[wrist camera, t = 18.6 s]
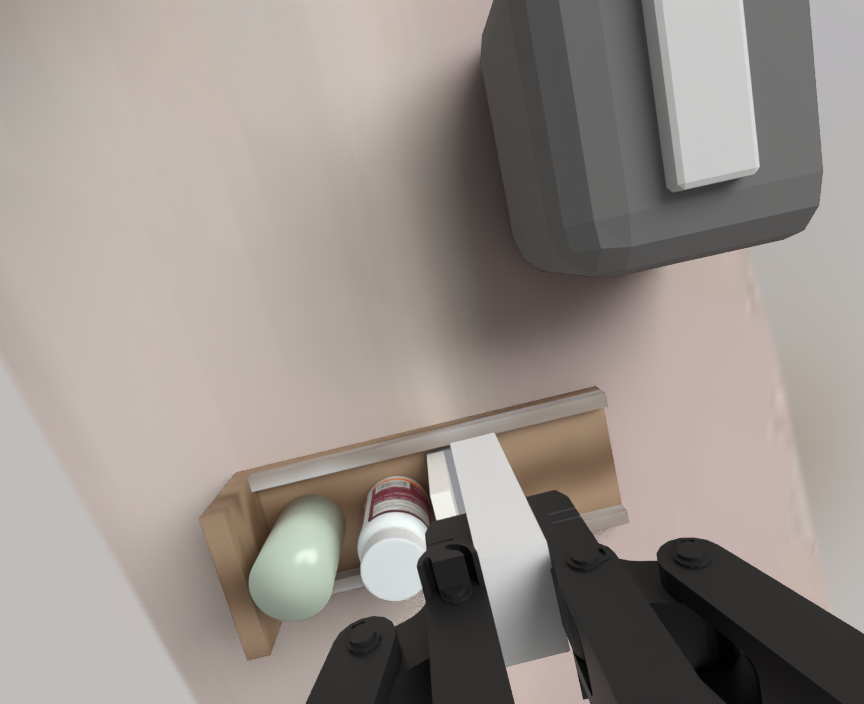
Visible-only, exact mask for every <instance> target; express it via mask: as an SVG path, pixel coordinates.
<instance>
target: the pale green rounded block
mask: <svg viewBox="0 0 864 704" xmlns="http://www.w3.org/2000/svg"><path fill="white" fill-rule="evenodd" d="M345 534H346V520H345V517H344V514H343V512H342V510H341V509H340V508H339V507H338V505H337V504H335V503H334V502H333V501H332V500H330V499H328V498H326V497H323V496H320V495H313V494H310V495H302V496H299V497H297V498H294V499H293V500H291V501H290V502H288V503H287V504H286V505H285V506H284V508H283V509H282V510H281V512H280V514H279V516H278V518H277V520H276V522H275V524H274V526H273V528H272V530H271V532H270V534H269V536H268V538H267V540H266V542H265V544H264V546H263V548H262V550H261V552H260V554H259V556H258V557H257V559H256V561H255V563H254V565H253V567H252V569H251V572H250V576H249V590H250V594H251V596H252V599H253V601H254V602H255V604H256V605H257V606H258V607H259V608H260V609H261V610H262V611H263V612H264V613H265V614H267V615H269V616H270V617H273V618H275V619H278V620H282V621H291V622H293V621H301V620H305V619H308V618H310V617H312V616H314V615H316V614H317V613H319V612H320V611H321V610H322V609H323V608H324V607H325V605H326V604H327V603H328V601H329V599H330V597H331V594H332V589H333V585H334V581H335V577H336V572H337V568H338V564H339V560H340V555H341V551H342V547H343V542H344V538H345Z"/></svg>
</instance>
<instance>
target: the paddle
mask: <svg viewBox="0 0 864 704" xmlns="http://www.w3.org/2000/svg"><path fill="white" fill-rule="evenodd" d="M426 453H427V464H428V476H429V488H430V497H431V501H432V505H433V509H434V513H435V516H436V520H440V519H444V518H448V517H452V516H456V515H461V514H465V513H466V510H465V506H464V502H463V497H462V493H461V489H460V484H459V480H458V476H457V472H456V467H455V463H454V459H453V455H452V450H451V446H450V447H446V448H442V449H438V450H434V451H429V452H426Z"/></svg>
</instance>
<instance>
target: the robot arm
mask: <svg viewBox="0 0 864 704" xmlns="http://www.w3.org/2000/svg"><path fill="white" fill-rule="evenodd" d="M450 446H451V450H452V455H453V459H454V463H455V467H456V472H457V476H458V480H459V484H460V489H461V493H462V497H463V502H464V506H465V510H466V513H465V514H461V515H456V516H452V517H448V518H444V519H440V520H436V521H432V522H431V523H430V525H429V527H428V529H427V531H426V532H425V541H426V551H425V552H424V553H423V554H422V556H421V557H420V558H419V559H418V563H417V571H418V574H419V578H420V582H421V585H422V589H423V593H424V596H425V600H426V604H425V605H424V607H423V608H422V609H421V610H420V611H419V612H418V613H417V614H416V615H415V616H413V617H411V618H410V619H408V620H407V621H405V622H403V623H401V624H399V625H397V626H395V627H394V625H393V623H392V621H390V620H388V619H386V618H384V617H376V616H372V617H368V618H363V619H360V620H358V621H356V622H354V623H352V624H350V625H349V626H348V627H346V628H345V629H344V630H343V631H342V632H340V634H339V635H338V637H337V638H336V640H335V641H334V643H333V645H332V647H331V649H330V652H329V654H328V656H327V658H326V660H325V663H324V665H323V667H322V669H321V671H320V673H319V676H318V678H317V680H316V682H315V684H314V687H313V689H312V691H311V693H310V695H309V697H308V700H307V702H306V704H515V703H514V699H513V695H512V691H511V687H510V683H509V679H508V675H507V671H506V667H508V666H512V665H516V664H520V663H524V662H528V661H532V660H536V659H540V658H544V657H548V656H552V655H556V654H560V653H564V652H568V651H570V648H569V643H568V639H569V642H570V644H571V647H572V649H573V654H574V659H575V664H576V668H577V673H578V678H579V682H580V687H581V692H582V696H583V700H584V699H589V701H590V704H864V634H863V633H861V632H860V631H858V630H857V629H855V628H853V627H852V626H850V625H849V624H847V623H845V622H844V621H842V620H840V619H839V618H837V617H835V616H834V615H832V614H831V613H829V612H827V611H826V610H824V609H822V608H821V607H819V606H817V605H816V604H814V603H813V602H811V601H809V600H808V599H806V598H804V597H803V596H801V595H799V594H798V593H796V592H795V591H793V590H791V589H790V588H788V587H786V586H785V585H783V584H781V583H780V582H778V581H776V580H775V579H773V578H772V577H770V576H768V575H767V574H765V573H763V572H762V571H760V570H758V569H757V568H755V567H754V566H752V565H750V564H749V563H747V562H745V561H744V560H742V559H740V558H739V557H737V556H736V555H734V554H732V553H731V552H729V551H727V550H726V549H724V548H722V547H721V546H719V545H717V544H715V543H713V542H710V541H708V540H704V539H699V538H678V539H675V540H671V541H668V542H667V543H665V544H664V545H662V546H661V547H660V548H659V550H658V552H657V560H658V561H628V560H623V559H619V558H618V557H617V555H616V554H615V553H614V552H613V551H612V550H611V549H610V548H609V547H607V546H604V545H602V544H599V543H598V542H597V540H596V539H595V537H594V535H593V534H592V532H591V531H590V529H589V528H588V526H587V525H586V523H585V522H584V520H583V519H582V517H581V516H580V514H579V512H578V511H577V509H575V506H574V505H573V503H572V502H571V500H570V499H569V497H568V496H566V495H564V494H562V493H561V492H559V491H557V490H552V491H548V492H544V493H540V494H536V495H532V496H528V497H525V496H524V493H523V491H522V489H521V487H520V485H519V483H518V481H517V479H516V477H515V475H514V473H513V471H512V468H511V466H510V464H509V462H508V460H507V458H506V456H505V454H504V452H503V450H502V448H501V446H500V443H499V441H498V439H497V437H496V435H495V433H490V434H486V435H482V436H478V437H474V438H470V439H466V440H462V441H458V442H453V443H450ZM567 637H568V639H567Z"/></svg>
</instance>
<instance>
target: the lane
mask: <svg viewBox="0 0 864 704" xmlns="http://www.w3.org/2000/svg"><path fill="white" fill-rule="evenodd" d="M604 407H608V404H607V399H606V394H605V392H603V391H602V390H600V389H599V388H597V387H596V386H595V387H591V388H586V389H582V390H578V391H574V392H570V393H566V394H561V395H557V396H553V397H549V398H545V399H541V400H536V401H532V402H528V403H524V404H520V405H516V406H512V407H507V408H503V409H499V410H495V411H491V412H487V413H482V414H478V415H474V416H470V417H466V418H462V419H457V420H453V421H449V422H445V423H441V424H437V425H432V426H428V427H424V428H420V429H416V430H412V431H407V432H403V433H399V434H395V435H391V436H387V437H383V438H378V439H374V440H370V441H366V442H362V443H358V444H353V445H349V446H345V447H341V448H337V449H333V450H328V451H324V452H320V453H316V454H312V455H308V456H303V457H299V458H295V459H291V460H287V461H283V462H278V463H274V464H270V465H266V466H262V467H258V468H253V469H249V470H245V471H241V472H237V473H235V475H234V476H233V477H232V478H231V479H230V481H229V482H228V483H227V484H226V486H225V487H224V488H223V489H222V491H221V492H220V493H219V494H218V496H217V497H216V498H215V499H214V500H213V502H212V503H211V504H210V505H209V507H208V508H207V509H206V510H205V512H204V513H203V514H202V515H201V517H200V518H199V520H200V523H201V526H202V529H203V532H204V535H205V538H206V541H207V544H208V547H209V550H210V553H211V556H212V559H213V561H214V564H215V567H216V570H217V573H218V576H219V579H220V582H221V585H222V588H223V591H224V594H225V597H226V600H227V603H228V605H229V608H230V611H231V614H232V617H233V620H234V623H235V626H236V629H237V632H238V635H239V638H240V641H241V644H242V647H243V649H244V652H245V655H246V658H247V660H252V659H256V658H260V657H264V656H268V655H270V654H271V651H272V649H273V646H274V643H275V640H276V637H277V634H278V632H279V629H280V626H281V623H282V620H278V619H275V618H273V617H270V616H269V615H267V614H265V613H264V612H263V611H262V610H261V609H260V608H259V607H258V606H257V605H256V604H255V602H254V601H253V599H252V596H251V594H250V590H249V576H250V572H251V569H252V567H253V565H254V563H255V561H256V559H257V557H258V556H259V554H260V552H261V550H262V548H263V546H264V544H265V542H266V540H267V538H268V536H269V534H270V532H271V530H272V528H273V526H274V524H275V522H276V520H277V518H278V516H279V514H280V512H281V510H282V509H283V508H284V506H285V505H286V504H287V503H288V502H290V501H291V500H293V499H294V498H297V497H299V496H302V495H310V494H313V495H320V496H323V497H326V498H328V499H330V500H332V501H333V502H334V503H335V504H337V505H338V507H339V508H340V509H341V510H342V512H343V514H344V517H345V520H346V534H345V538H344V542H343V547H342V551H341V555H340V560H339V564H338V568H337V572H336V577H335V581H334V585H333V589H332V594H335V593H340V592H344V591H348V590H352V589H356V588H360V587H365V585H364V583H363V581H362V578H361V574H360V564H361V562H360V560H359V556H358V538H359V534H360V528H361V523H362V518H363V511H364V505H365V501H366V498H367V495H368V493H369V491H370V490H371V489H372V487H373V486H374V485H375V484H377V483H378V482H379V481H381V480H383V479H385V478H388V477H392V476H403V477H407V478H410V479H413V480H414V481H416V482H417V483H419V484H420V485H421V486H422V487H423V489H424V490H425V491H426V493H427V495H428V498H429V501H430V511H431V520H432V521H436V516H435V513H434V509H433V505H432V501H431V497H430V488H429V476H428V464H427V453H426V452H429V451H434V450H438V449H442V448H446V447H450V443H453V442H458V441H462V440H466V439H470V438H474V437H478V436H482V435H486V434H490V433H495V435H496V437H497V439H498V441H499V443H500V446H501V448H502V450H503V452H504V454H505V456H506V458H507V460H508V462H509V464H510V466H511V468H512V471H513V473H514V475H515V477H516V479H517V481H518V483H519V485H520V487H521V489H522V491H523V493H524V496H525V497H528V496H532V495H536V494H540V493H544V492H548V491H552V490H557V491H559V492H561V493H562V494H564V495H566V496H568V497H569V499H570V500H571V502H572V503H573V505H574V506H575V509H577V511H578V512H579V514H580V516H581V517H582V519H583V520H584V522H585V523H586V525H587V526H588V528H589V529H590V531H591V532H594V531H598V530H602V529H606V528H611V527H615V526H619V525H623V524H627V523H629V519H628V513H627V510H626V509H625V508H624V507H623V505H622V504H621V498H620V493H619V487H618V482H617V477H616V471H615V466H614V460H613V455H612V450H611V444H610V439H609V433H608V428H607V423H606V417H605V412H604Z"/></svg>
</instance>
